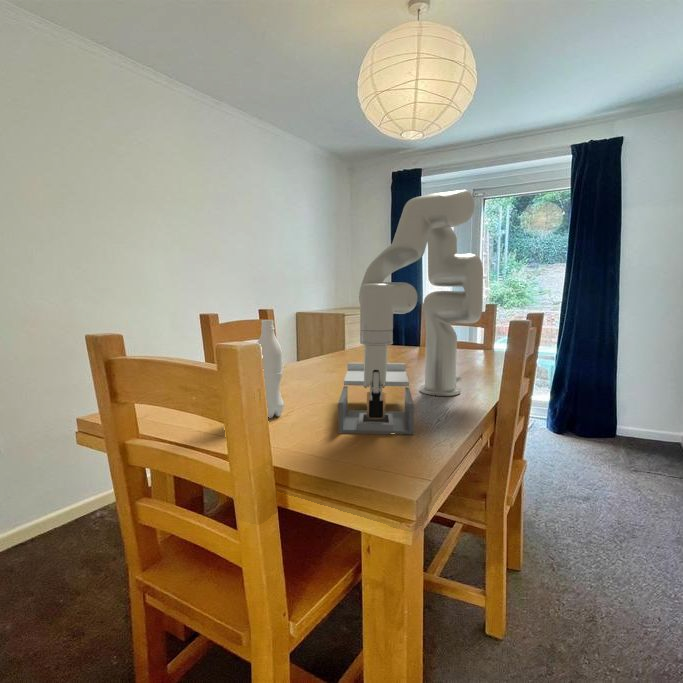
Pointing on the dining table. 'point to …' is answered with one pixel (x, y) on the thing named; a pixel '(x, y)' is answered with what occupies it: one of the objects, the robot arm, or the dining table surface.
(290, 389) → the dining table surface
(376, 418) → the tan egg-shaped pebble
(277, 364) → the water bottle
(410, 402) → the housing
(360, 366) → the lid
